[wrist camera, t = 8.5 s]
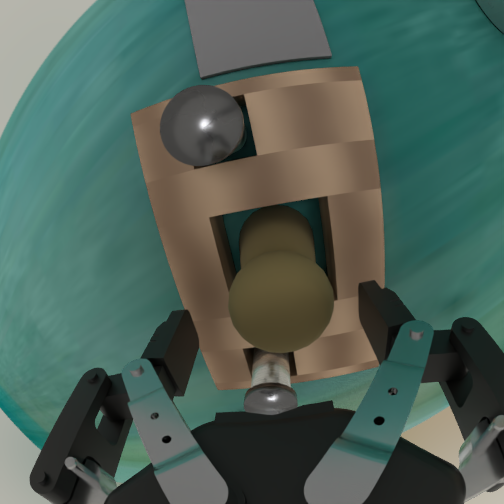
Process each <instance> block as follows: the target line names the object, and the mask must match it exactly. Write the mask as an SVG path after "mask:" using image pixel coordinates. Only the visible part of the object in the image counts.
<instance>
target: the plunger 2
mask: <svg viewBox="0 0 504 504" xmlns="http://www.w3.org/2000/svg"><path fill="white" fill-rule="evenodd" d="M294 408H297V395H296V392H295V391H294V390H293V389H292V388H291V383H290V368H289V354H288V352H287V353H274V352H267V351H264V350H261V349H258V348H256V347H254V357H253V370H252V382H251V388H250V389H249V390H248V391H247V392H246V394H245V399H244V409H245V411H246V412H250V413H258V414H266V415H275V414H279V413H282V412H285V411H288V410H291V409H294Z"/></svg>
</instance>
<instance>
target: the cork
mask: <svg viewBox="0 0 504 504" xmlns="http://www.w3.org/2000/svg"><path fill="white" fill-rule="evenodd" d="M239 250H240V262H241V270H240V271H239V272H238V273H237V275H236V277H235V279H234V281H233V283H232V285H231V288H230V291H229V300H228V309H229V314H230V317H231V320H232V323H233V326H234V328H235V329H236V330H237V331H238V333H239V334H240V335H241V337H242V338H243V339H244V340H246V341H247V342H248V343H250V344H251V345H253V346H254V347H256V348H258V349H261V350H264V351H267V352H274V353H287V352H293V351H297V350H300V349H302V348H304V347H307V346H309V345H310V344H311V343H313V342H314V341H315V340H316V339H318V338H319V337H320V336H321V334H322V333H323V332H324V330H325V329H326V327H327V326H328V324H329V323H330V320H331V317H332V313H333V310H334V298H333V289H332V286H331V284H330V282H329V280H328V278H327V276H326V274H325V272H324V270H323V269H321V268H320V267H319V266H318V265H317V264H316V260H315V247H314V237H313V231H312V228H311V226H310V224H309V222H308V220H307V219H306V218H305V217H304V216H303V215H302V214H301V213H300V212H299V211H297V210H295V209H292V208H290V207H288V206H282V205H271V206H266V207H262V208H261V209H259V210H257V211H255V212H253V213H252V214H251V215H250V216H249V217H248V219H247V220H246V221H245V222H244V224H243V226H242V229H241V231H240V237H239Z"/></svg>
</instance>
